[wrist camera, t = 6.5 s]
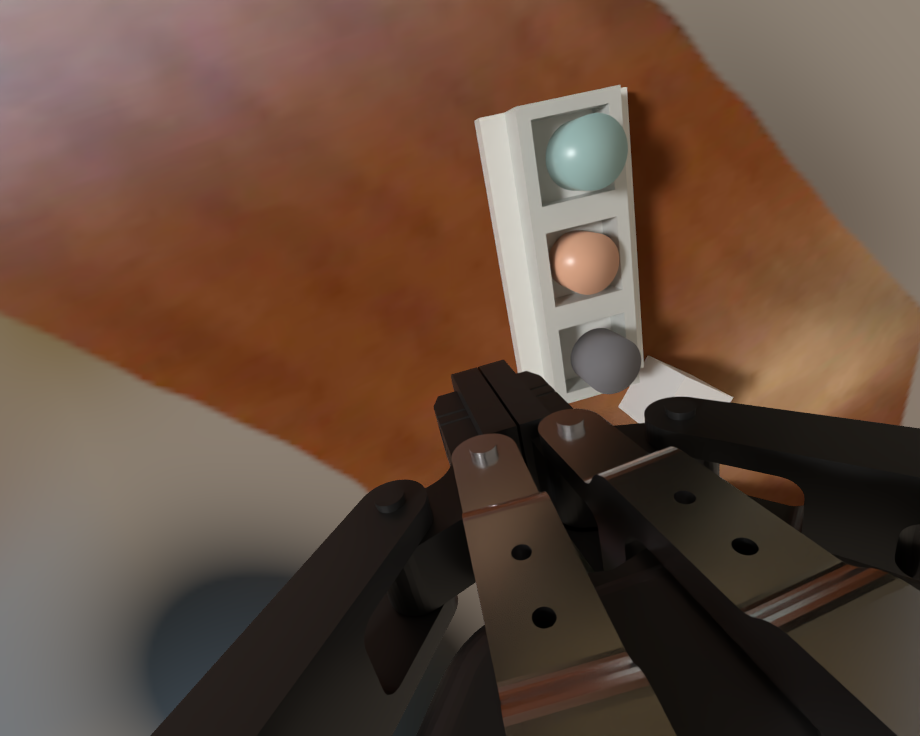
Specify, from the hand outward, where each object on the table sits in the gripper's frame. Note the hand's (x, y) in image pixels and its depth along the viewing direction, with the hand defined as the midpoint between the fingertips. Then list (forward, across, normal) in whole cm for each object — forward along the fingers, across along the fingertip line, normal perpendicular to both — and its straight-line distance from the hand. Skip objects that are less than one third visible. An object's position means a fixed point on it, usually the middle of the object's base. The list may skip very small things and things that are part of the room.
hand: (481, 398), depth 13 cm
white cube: (+28, -22, +19) cm, 41 cm away
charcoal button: (+24, -14, +11) cm, 30 cm away
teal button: (+24, -15, -5) cm, 28 cm away
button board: (+28, -14, +3) cm, 32 cm away
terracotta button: (+26, -14, +3) cm, 30 cm away
